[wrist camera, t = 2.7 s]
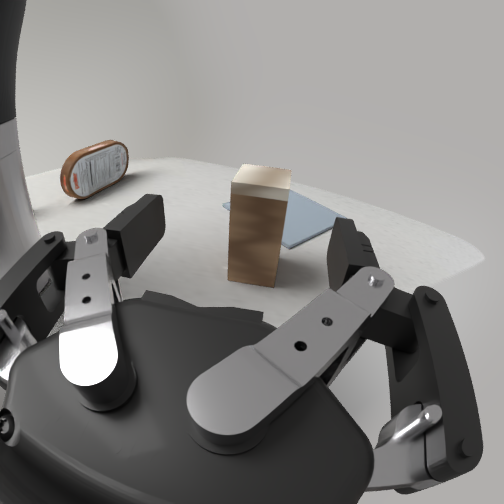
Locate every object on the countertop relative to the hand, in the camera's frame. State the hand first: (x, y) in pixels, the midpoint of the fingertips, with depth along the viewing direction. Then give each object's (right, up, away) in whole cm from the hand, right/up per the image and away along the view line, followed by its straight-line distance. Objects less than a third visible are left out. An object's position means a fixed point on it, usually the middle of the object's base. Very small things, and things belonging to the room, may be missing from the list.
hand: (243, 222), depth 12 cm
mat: (+5, +4, +27) cm, 28 cm away
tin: (-27, +10, +31) cm, 42 cm away
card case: (+1, -3, +16) cm, 16 cm away
